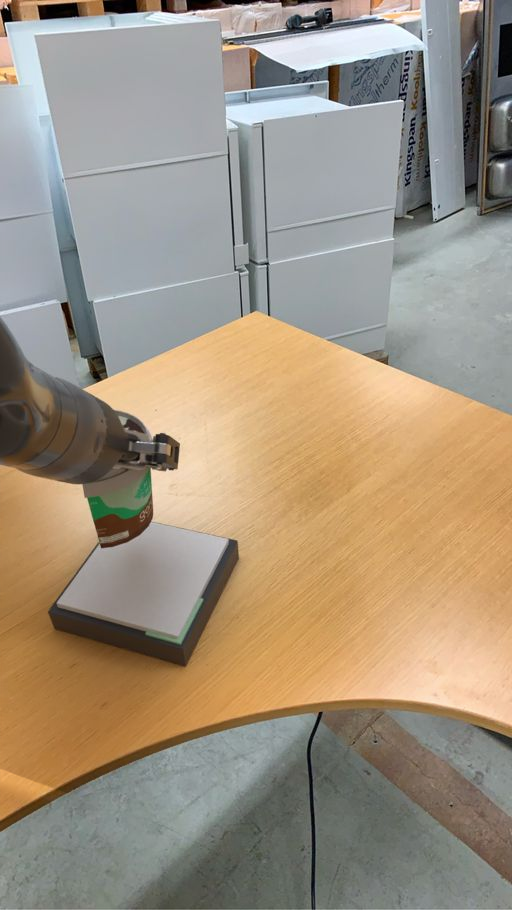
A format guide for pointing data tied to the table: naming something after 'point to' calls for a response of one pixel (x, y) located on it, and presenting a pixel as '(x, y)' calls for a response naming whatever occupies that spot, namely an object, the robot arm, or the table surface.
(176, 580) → the scale
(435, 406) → the table surface
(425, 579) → the table surface
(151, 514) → the food container
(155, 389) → the table surface
